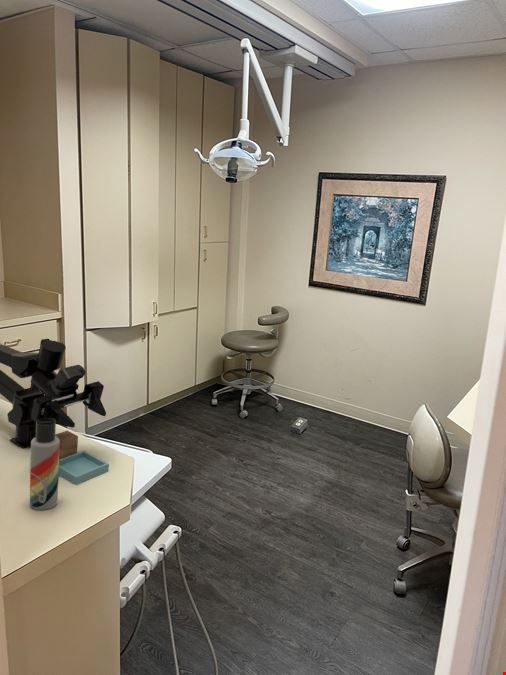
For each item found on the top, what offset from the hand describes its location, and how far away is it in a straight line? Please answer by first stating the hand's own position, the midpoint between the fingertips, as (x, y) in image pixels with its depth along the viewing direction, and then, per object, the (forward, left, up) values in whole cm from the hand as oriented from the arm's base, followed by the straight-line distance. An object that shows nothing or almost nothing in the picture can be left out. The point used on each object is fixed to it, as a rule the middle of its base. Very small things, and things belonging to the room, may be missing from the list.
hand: (90, 420), depth 121 cm
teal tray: (-3, 0, -15) cm, 15 cm away
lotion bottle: (+4, -14, -15) cm, 21 cm away
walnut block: (-11, +1, -15) cm, 18 cm away
